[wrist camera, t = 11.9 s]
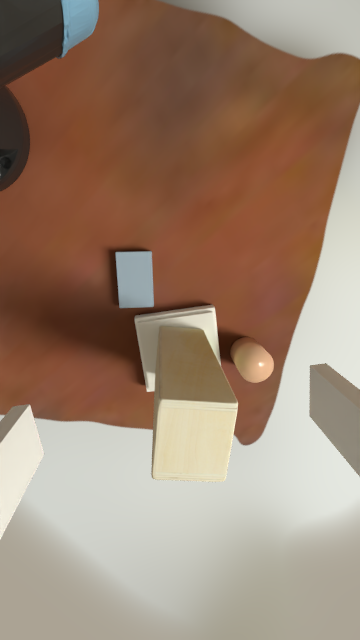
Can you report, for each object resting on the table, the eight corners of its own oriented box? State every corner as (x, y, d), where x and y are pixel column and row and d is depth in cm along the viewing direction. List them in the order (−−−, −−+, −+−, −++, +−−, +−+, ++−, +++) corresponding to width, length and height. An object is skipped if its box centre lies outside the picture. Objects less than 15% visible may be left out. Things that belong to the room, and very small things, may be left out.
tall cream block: (202, 378, 47) (233, 484, 26) (154, 375, 46) (148, 480, 26) (208, 329, 45) (247, 402, 24) (159, 325, 44) (156, 396, 24)
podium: (135, 315, 46) (133, 320, 44) (212, 304, 47) (215, 308, 44) (147, 386, 49) (146, 394, 47) (220, 375, 50) (223, 383, 47)
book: (117, 251, 44) (115, 252, 42) (151, 251, 45) (151, 251, 43) (121, 305, 46) (119, 308, 44) (153, 304, 47) (153, 307, 45)
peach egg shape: (228, 339, 48) (237, 352, 42) (259, 334, 48) (272, 347, 42) (231, 368, 49) (240, 384, 44) (261, 363, 50) (274, 379, 44)
